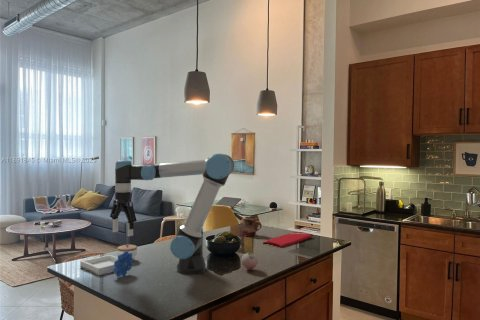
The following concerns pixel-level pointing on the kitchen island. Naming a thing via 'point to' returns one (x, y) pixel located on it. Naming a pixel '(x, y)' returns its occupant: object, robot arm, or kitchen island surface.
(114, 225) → the robot arm
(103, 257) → the tray
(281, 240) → the dish drying mat
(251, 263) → the decorative fruit
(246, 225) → the decorative planter
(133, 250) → the lidded jar
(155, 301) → the kitchen island surface
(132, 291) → the kitchen island surface
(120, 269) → the grapes
